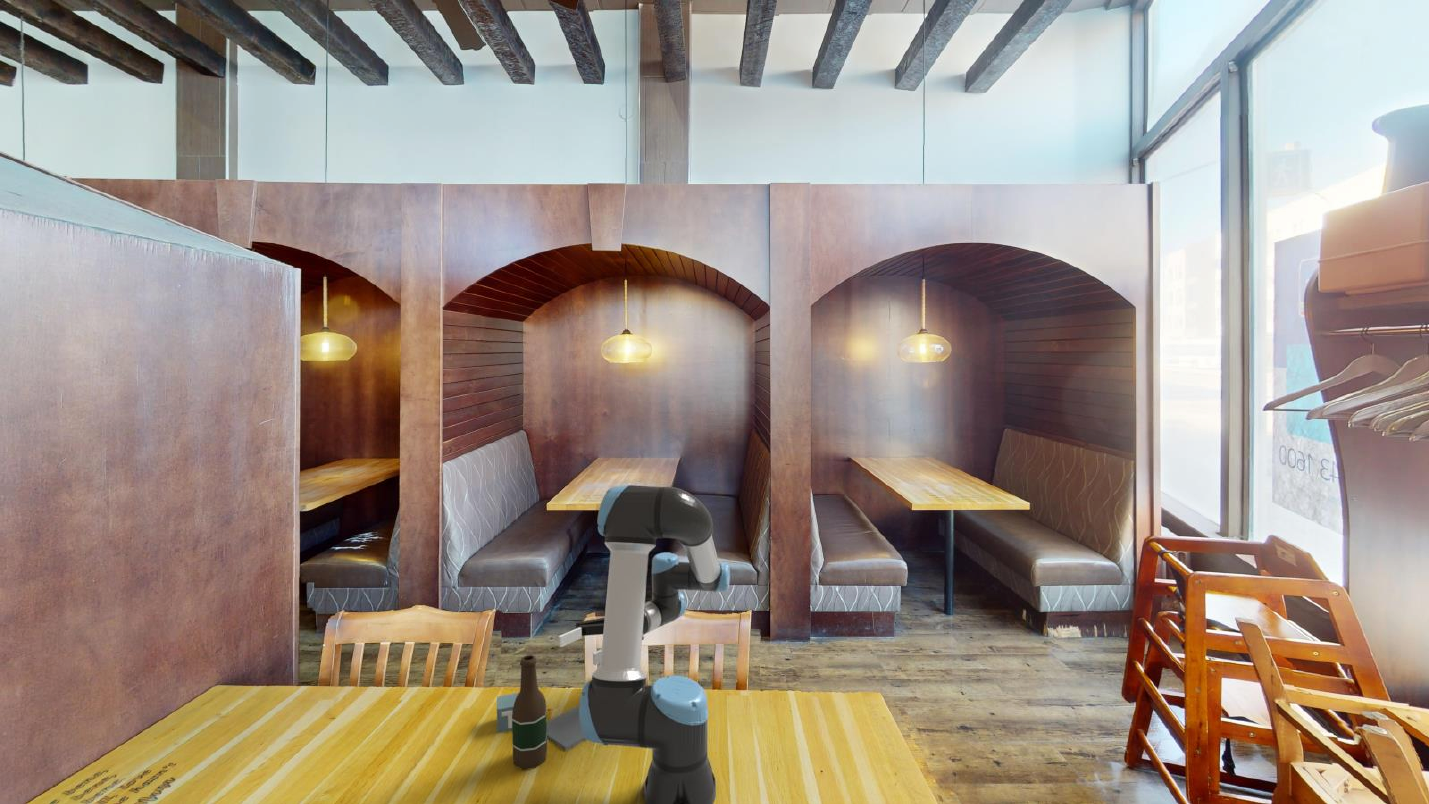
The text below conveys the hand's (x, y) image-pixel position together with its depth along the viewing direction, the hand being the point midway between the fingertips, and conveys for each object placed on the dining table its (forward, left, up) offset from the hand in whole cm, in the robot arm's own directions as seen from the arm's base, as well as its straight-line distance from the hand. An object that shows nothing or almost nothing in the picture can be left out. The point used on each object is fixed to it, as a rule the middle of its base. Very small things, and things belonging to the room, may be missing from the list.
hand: (576, 650), depth 144 cm
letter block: (+16, +9, -21) cm, 27 cm away
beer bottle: (0, +13, -21) cm, 25 cm away
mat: (+2, 0, -21) cm, 21 cm away
